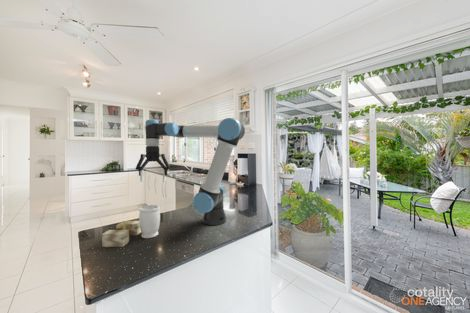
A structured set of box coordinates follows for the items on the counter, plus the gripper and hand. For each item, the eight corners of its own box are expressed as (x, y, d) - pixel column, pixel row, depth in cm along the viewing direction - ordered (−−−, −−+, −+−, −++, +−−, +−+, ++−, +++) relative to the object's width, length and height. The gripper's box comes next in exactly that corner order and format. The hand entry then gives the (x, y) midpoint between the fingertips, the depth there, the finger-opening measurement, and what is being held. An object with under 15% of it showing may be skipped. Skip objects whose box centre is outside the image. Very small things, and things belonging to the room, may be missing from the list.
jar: (153, 240, 102) (153, 210, 101) (134, 239, 103) (134, 209, 103) (164, 231, 112) (163, 204, 112) (146, 230, 114) (146, 204, 113)
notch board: (141, 231, 113) (141, 220, 113) (123, 246, 95) (122, 233, 95) (123, 231, 113) (123, 220, 113) (102, 246, 95) (101, 234, 95)
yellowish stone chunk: (130, 236, 107) (129, 221, 107) (123, 241, 101) (123, 225, 101) (123, 236, 107) (123, 221, 107) (116, 241, 101) (116, 225, 101)
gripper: (175, 145, 125) (175, 180, 126) (135, 146, 126) (136, 180, 126) (171, 145, 118) (171, 181, 118) (128, 146, 118) (129, 182, 119)
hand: (153, 181), depth 122 cm, fingers open, 13 cm apart
